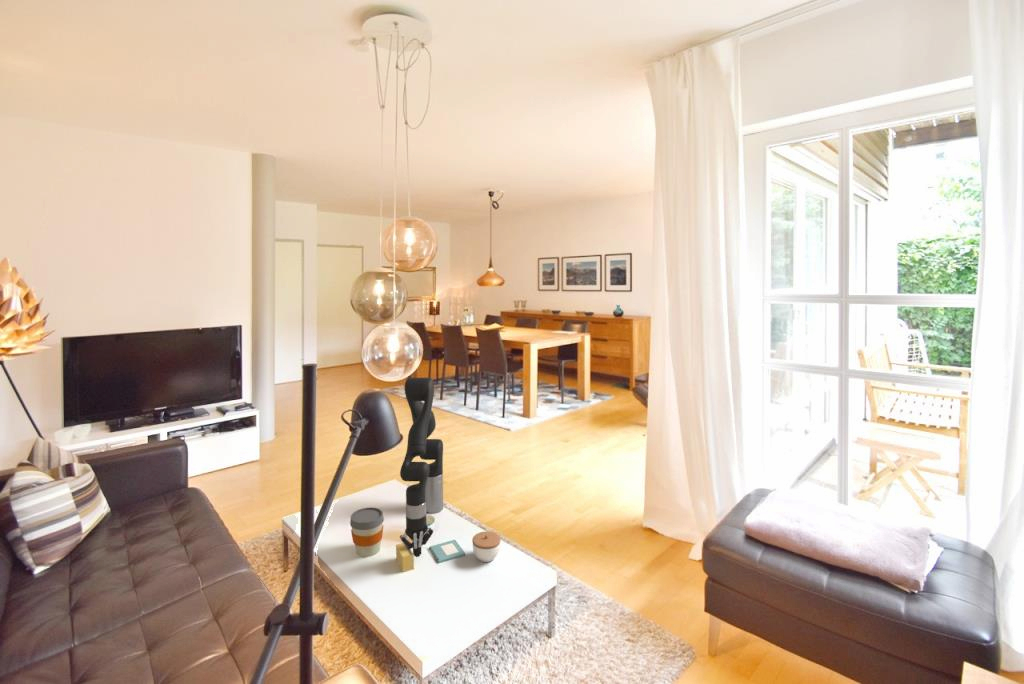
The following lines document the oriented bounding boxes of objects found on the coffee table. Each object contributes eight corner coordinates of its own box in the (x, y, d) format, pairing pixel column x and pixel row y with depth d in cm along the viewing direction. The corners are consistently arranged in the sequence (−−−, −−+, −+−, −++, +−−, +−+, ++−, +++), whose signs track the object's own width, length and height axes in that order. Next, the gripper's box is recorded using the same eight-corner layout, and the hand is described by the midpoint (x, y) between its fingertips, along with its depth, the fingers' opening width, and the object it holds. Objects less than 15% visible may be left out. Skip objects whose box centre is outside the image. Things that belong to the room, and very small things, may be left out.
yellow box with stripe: (396, 559, 186) (395, 544, 185) (406, 556, 188) (406, 541, 187) (403, 572, 178) (402, 556, 177) (413, 569, 180) (413, 553, 179)
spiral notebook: (429, 548, 193) (429, 546, 193) (454, 541, 198) (454, 539, 198) (438, 563, 183) (438, 560, 183) (465, 555, 189) (465, 552, 188)
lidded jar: (500, 549, 193) (500, 527, 191) (500, 565, 182) (500, 542, 181) (473, 549, 193) (473, 527, 191) (471, 566, 182) (471, 542, 181)
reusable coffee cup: (376, 561, 184) (374, 524, 182) (345, 558, 186) (343, 521, 184) (389, 543, 196) (388, 508, 194) (361, 540, 198) (359, 505, 196)
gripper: (429, 504, 188) (430, 546, 191) (395, 512, 182) (397, 555, 185) (436, 513, 182) (437, 556, 185) (401, 522, 176) (403, 566, 178)
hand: (417, 555), depth 185 cm, fingers closed
